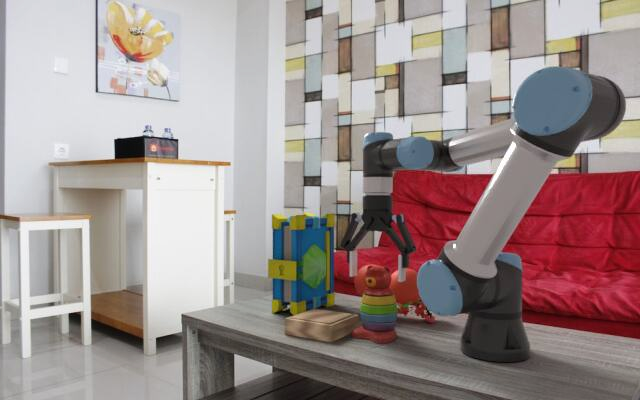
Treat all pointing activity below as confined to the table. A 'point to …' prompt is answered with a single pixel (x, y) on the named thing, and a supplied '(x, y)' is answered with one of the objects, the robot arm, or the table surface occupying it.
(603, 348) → the table surface
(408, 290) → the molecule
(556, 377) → the table surface
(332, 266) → the decorative book
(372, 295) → the stacking bear
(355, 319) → the oak stand
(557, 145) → the robot arm
